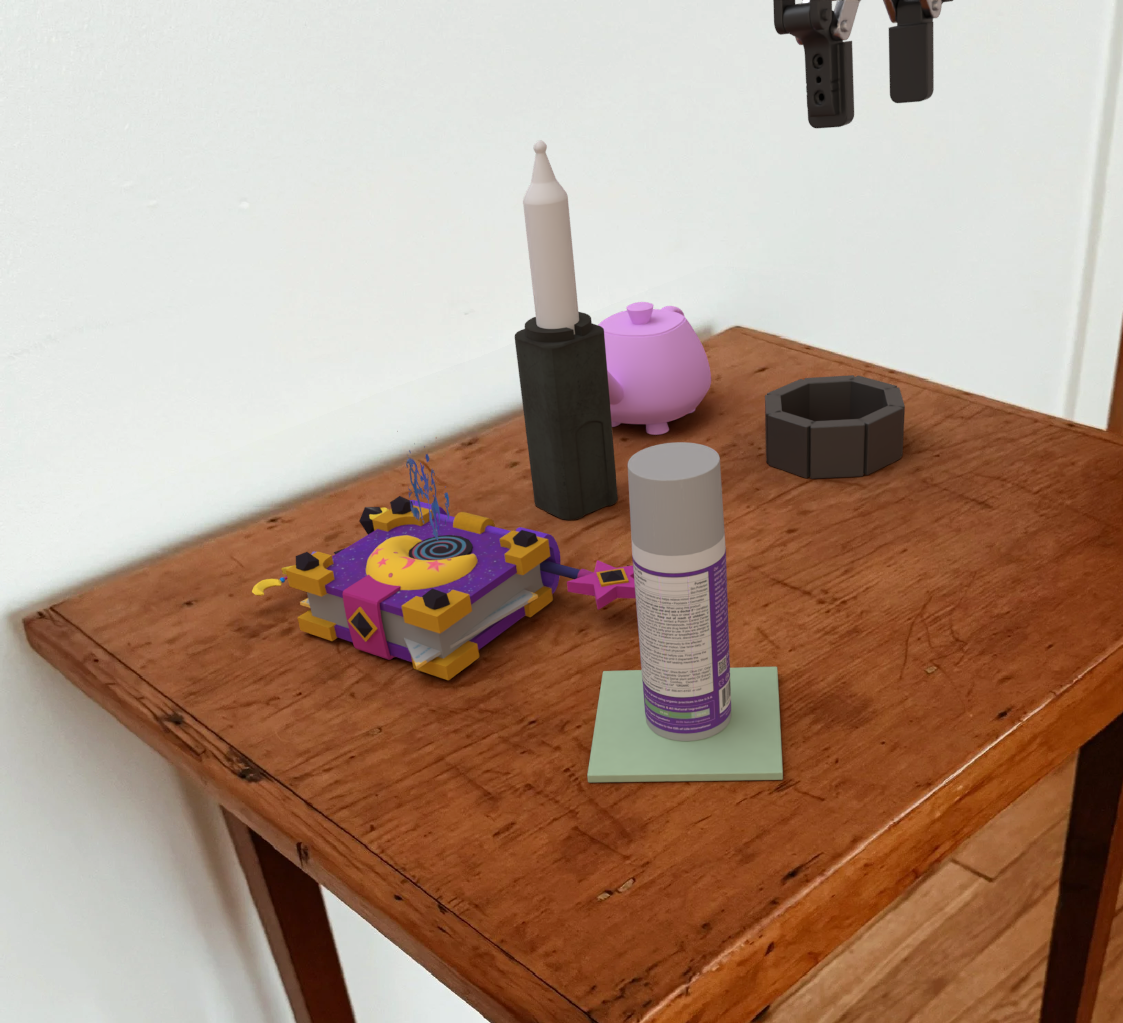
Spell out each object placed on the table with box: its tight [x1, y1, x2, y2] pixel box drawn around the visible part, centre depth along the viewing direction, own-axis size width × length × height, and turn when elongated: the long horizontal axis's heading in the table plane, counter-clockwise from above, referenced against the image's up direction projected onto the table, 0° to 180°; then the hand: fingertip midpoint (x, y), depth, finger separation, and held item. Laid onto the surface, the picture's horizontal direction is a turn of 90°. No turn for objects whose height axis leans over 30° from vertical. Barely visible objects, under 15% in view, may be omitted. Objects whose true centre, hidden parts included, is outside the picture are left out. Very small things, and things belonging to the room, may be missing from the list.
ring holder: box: [764, 374, 906, 480], centre depth 98 cm, size 10×10×4 cm
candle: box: [514, 139, 619, 521], centre depth 89 cm, size 5×5×25 cm
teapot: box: [597, 301, 712, 436], centre depth 105 cm, size 10×15×9 cm
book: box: [251, 430, 636, 681], centre depth 80 cm, size 14×25×12 cm, turn 54°
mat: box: [586, 666, 784, 783], centre depth 71 cm, size 10×10×1 cm
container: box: [627, 441, 731, 741], centre depth 67 cm, size 5×5×15 cm
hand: (873, 113), depth 67 cm, fingers open, 8 cm apart
